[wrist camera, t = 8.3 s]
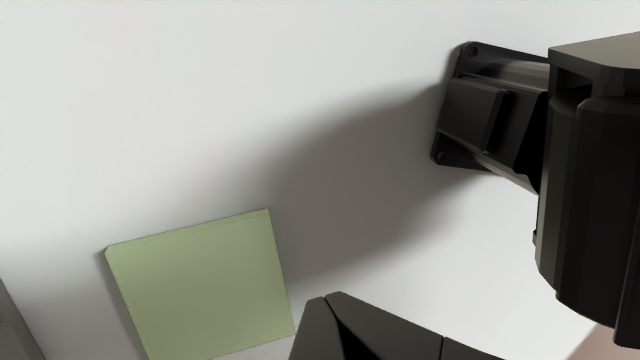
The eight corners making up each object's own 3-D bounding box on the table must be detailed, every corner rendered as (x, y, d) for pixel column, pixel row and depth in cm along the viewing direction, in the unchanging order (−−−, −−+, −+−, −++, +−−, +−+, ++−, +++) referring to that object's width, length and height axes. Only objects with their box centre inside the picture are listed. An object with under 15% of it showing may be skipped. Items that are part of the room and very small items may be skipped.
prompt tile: (267, 207, 22) (269, 214, 21) (293, 324, 25) (295, 334, 24) (108, 245, 20) (104, 254, 20) (157, 364, 24) (155, 375, 23)
